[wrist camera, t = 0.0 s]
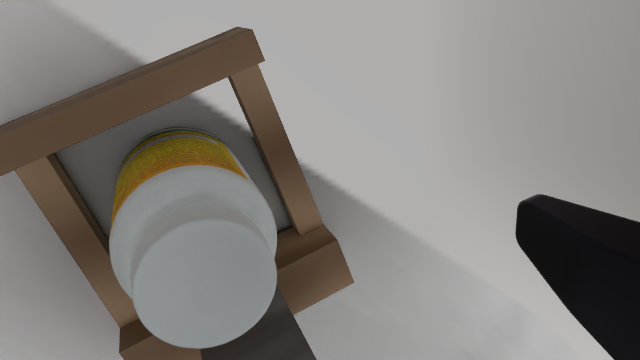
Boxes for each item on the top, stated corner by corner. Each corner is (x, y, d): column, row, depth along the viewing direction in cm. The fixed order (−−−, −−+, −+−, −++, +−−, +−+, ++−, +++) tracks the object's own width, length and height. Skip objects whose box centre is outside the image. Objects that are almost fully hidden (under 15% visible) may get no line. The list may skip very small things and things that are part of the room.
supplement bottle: (263, 187, 24) (336, 285, 16) (174, 261, 24) (198, 404, 15) (186, 97, 22) (222, 156, 13) (86, 179, 22) (56, 292, 13)
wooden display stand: (331, 254, 26) (451, 401, 17) (145, 351, 25) (155, 581, 15) (237, 26, 22) (327, 42, 12) (-3, 127, 20) (-134, 245, 10)
